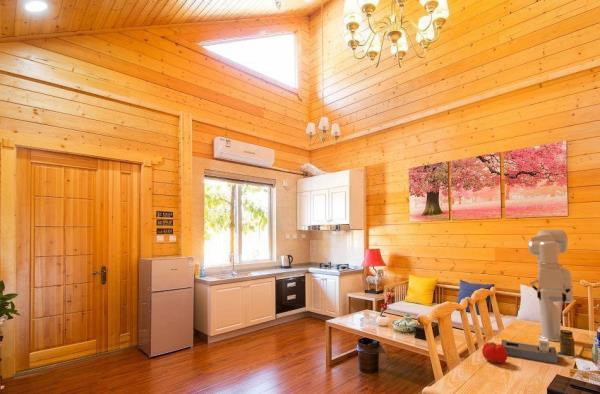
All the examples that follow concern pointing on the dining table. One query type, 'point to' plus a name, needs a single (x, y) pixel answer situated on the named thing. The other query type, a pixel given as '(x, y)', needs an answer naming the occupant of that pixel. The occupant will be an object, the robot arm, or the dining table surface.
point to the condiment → (566, 344)
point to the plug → (543, 345)
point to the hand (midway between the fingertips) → (551, 300)
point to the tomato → (494, 352)
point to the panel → (529, 351)
